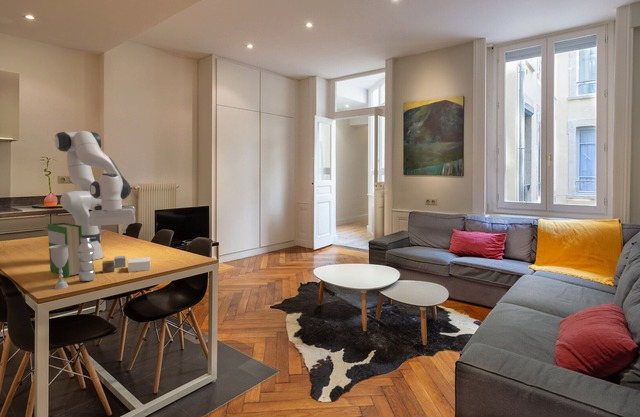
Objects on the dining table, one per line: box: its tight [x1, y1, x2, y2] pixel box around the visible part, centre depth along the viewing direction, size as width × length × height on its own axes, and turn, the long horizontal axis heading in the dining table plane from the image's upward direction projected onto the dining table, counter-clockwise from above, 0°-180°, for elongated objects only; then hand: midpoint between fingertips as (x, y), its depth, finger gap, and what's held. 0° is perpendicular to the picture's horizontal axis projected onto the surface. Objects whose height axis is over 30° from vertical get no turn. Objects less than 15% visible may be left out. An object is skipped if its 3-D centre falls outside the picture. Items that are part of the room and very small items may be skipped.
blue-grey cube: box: [113, 255, 127, 269], centre depth 195 cm, size 5×5×5 cm
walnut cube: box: [101, 259, 116, 274], centre depth 185 cm, size 5×5×5 cm
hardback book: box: [47, 222, 82, 279], centre depth 180 cm, size 18×7×24 cm, turn 57°
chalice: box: [48, 245, 69, 290], centre depth 159 cm, size 7×7×18 cm
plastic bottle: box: [77, 237, 96, 282], centre depth 168 cm, size 6×7×20 cm
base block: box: [127, 256, 151, 273], centre depth 191 cm, size 10×10×5 cm
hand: (113, 233), depth 184 cm, fingers open, 8 cm apart
